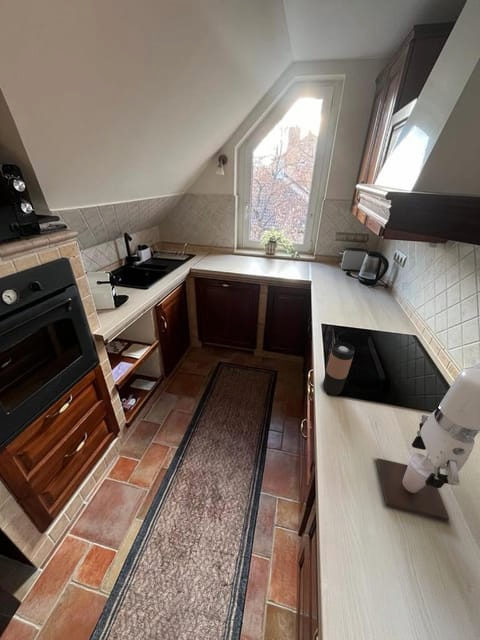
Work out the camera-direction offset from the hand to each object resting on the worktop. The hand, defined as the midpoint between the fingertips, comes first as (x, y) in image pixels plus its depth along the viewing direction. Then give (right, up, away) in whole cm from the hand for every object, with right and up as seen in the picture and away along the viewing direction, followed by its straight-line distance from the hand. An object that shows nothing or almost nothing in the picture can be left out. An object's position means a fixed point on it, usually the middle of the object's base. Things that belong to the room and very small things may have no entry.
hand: (424, 465), depth 63 cm
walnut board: (0, -10, +6) cm, 11 cm away
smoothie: (0, -9, +5) cm, 10 cm away
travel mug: (-10, +9, +37) cm, 39 cm away
